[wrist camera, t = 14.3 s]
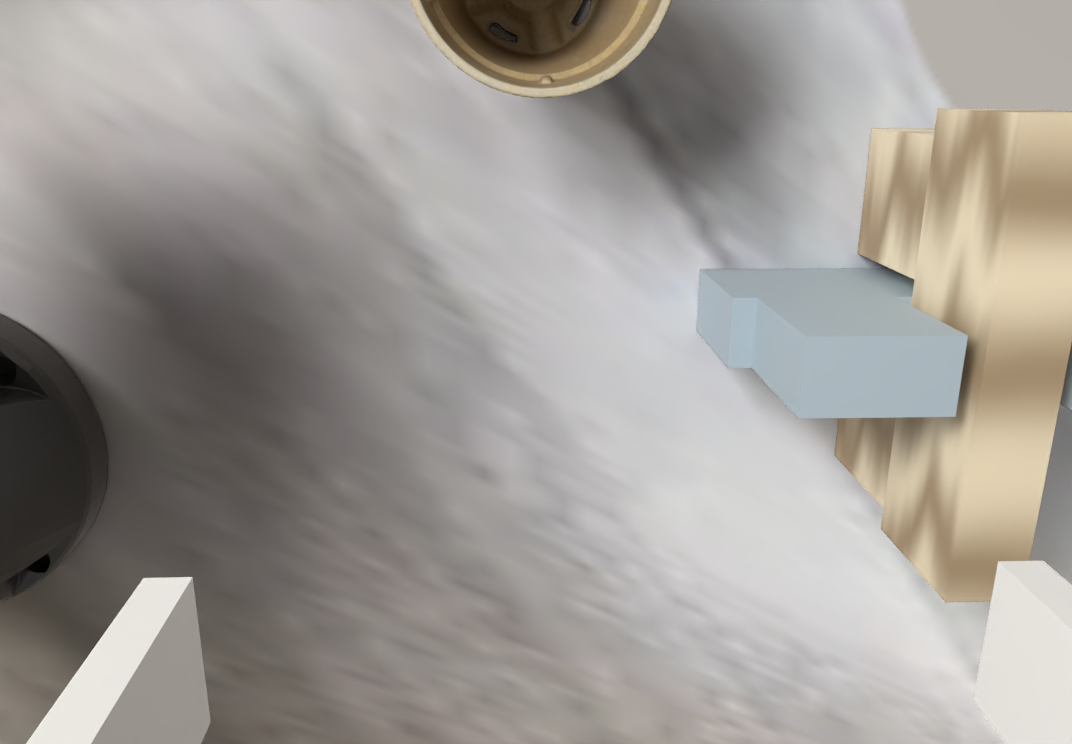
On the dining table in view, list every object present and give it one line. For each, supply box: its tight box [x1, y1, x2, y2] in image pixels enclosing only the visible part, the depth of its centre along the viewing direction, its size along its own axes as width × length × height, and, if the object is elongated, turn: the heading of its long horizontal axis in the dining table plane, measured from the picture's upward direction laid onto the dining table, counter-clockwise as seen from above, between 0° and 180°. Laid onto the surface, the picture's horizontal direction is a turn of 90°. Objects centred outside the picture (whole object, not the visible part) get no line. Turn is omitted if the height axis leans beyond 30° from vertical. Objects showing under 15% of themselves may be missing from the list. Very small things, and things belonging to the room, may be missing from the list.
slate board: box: [697, 269, 1072, 419], centre depth 37 cm, size 18×3×12 cm, turn 90°
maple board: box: [835, 109, 1072, 602], centre depth 37 cm, size 18×3×12 cm, turn 0°
